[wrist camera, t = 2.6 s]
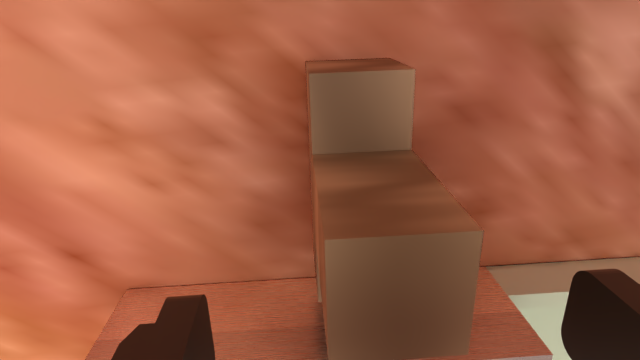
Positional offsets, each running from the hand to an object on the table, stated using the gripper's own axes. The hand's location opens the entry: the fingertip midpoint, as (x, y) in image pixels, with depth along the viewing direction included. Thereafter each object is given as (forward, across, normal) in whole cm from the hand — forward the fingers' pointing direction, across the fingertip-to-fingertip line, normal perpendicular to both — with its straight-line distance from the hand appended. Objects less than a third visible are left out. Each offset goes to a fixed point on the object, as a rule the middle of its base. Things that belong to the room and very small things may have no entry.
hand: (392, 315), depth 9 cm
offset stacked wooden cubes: (+11, 0, 0) cm, 11 cm away
